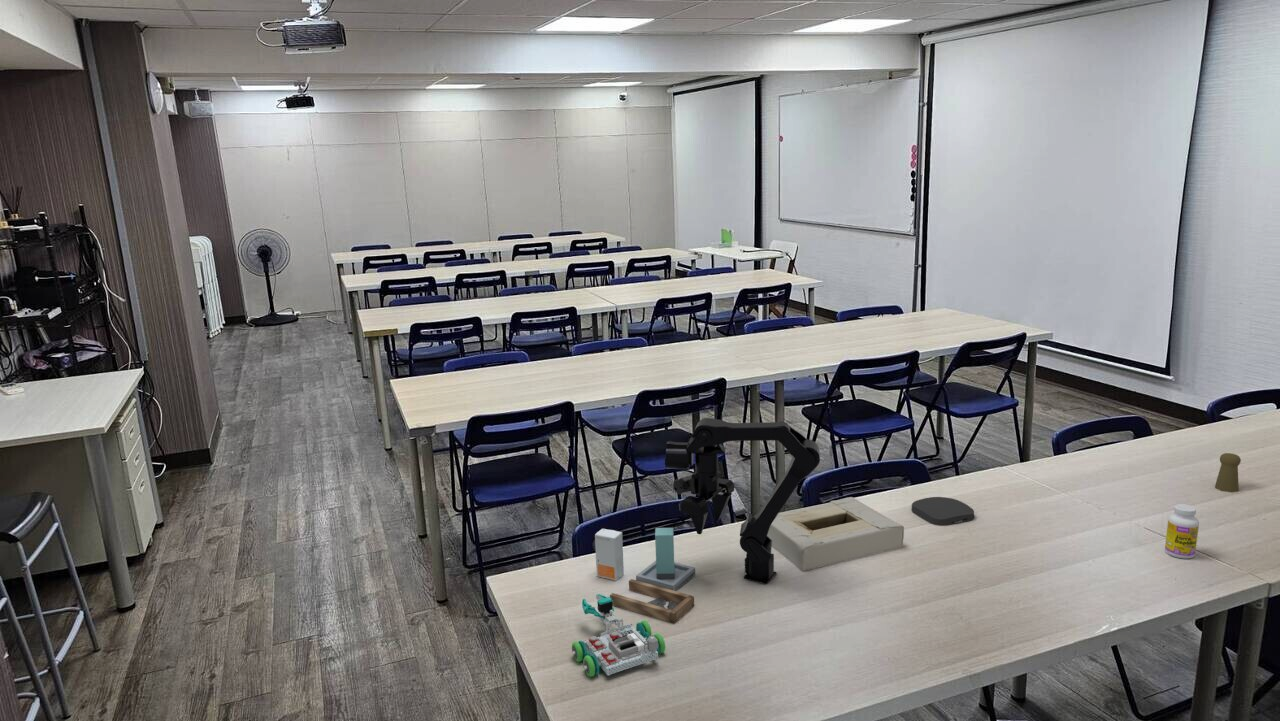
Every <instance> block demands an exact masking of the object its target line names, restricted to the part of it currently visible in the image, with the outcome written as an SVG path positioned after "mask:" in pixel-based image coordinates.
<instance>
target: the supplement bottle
mask: <svg viewBox="0 0 1280 721" xmlns="http://www.w3.org/2000/svg"><path fill="white" fill-rule="evenodd" d="M1173 511H1174V513H1171V514H1169V516H1168V518H1167V525H1166V526H1167V527H1166V534H1165V543H1164V544H1165V545H1164V551H1165V552H1166V554H1168V555H1169V556H1171V557H1174V558H1177V559H1183V560H1184V559H1188V560H1189V559H1193V558H1194V557H1195V556H1196V550H1197V543H1198V542H1197V541H1198V536H1199V535H1198V534H1199V527H1200V522H1199V519H1198V518H1197V517H1196V514H1197V513H1196V512H1197V509H1196V508H1195V506H1193V505H1188V504H1184V503H1179V504H1175V505H1174V506H1173Z"/></svg>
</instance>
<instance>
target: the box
mask: <svg viewBox="0 0 1280 721" xmlns="http://www.w3.org/2000/svg"><path fill="white" fill-rule="evenodd" d="M904 526H905V525H902V524H901V523H898V522H897V521H894V520H893V519H891V518H889V517H887V516H886V515H884V514H882V513H880V512H878V511H877V510H875V509H873V508H871V507H870V506H868V505H866V504H865V503H864V502H861V501H860V500H858V499H857V498H855V497H853V496H849V497H848V496H847V497H844V498H840V499H837V500H830V501H829V502H826V503H822V504H821V503H820V504H817V505H812V506H811V505H810V506H807V507H801V508H796V509H791V510H786V511H780V512H779V513H778V515H777V516H776V518H775V519H774V521H773V522H772V524H771V526H770V528H769V531H768V534H767V536H768V537H769V538H770V539H771V540H772V548H773V549H774V550H776V552H778V553H779V554H780V555H782V557H784V558H786V559H787V560H788V561H789V562H791V563H792V564H793V565H794V566H795V567H797V568H798V569H799V570H801V571H802V572H805V571H808V570H813V569H817V568H821V567H826V566H829V565H834V564H838V563H839V564H840V563H841V562H847V561H851V560H856V559H859V558H863V557H868V556H872V555H875V554H881V553H884V552H889V551H893V550H894V551H895V550H897V549H901V548H902V549H903V546H904V536H905V527H904Z"/></svg>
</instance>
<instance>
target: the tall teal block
mask: <svg viewBox="0 0 1280 721" xmlns="http://www.w3.org/2000/svg"><path fill="white" fill-rule="evenodd" d="M654 531H655V532H654V533H655V534H654V537H655V538H654V543H655V561H656V577H657V579H658V580H663V579H675V565H674V562H675V545H674V544H675V543H674V542H675V541H674V540H675V539H674V527H655V530H654Z"/></svg>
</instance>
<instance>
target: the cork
mask: <svg viewBox="0 0 1280 721" xmlns="http://www.w3.org/2000/svg"><path fill="white" fill-rule="evenodd" d="M1219 461H1220V462H1219V463H1220V467H1219V471H1218V475H1217V478H1216V482H1215V485H1214V488H1215V489H1217V490H1219V491H1221V492H1226V493H1237V492H1239V491H1240V489H1239V488H1240V487H1239V485H1240V484H1239V469H1238V468H1239V465H1240V464H1241V457H1240V456H1239V455H1238V454H1236V453H1230V452H1226V453H1225V452H1224V453H1222V454H1221V455H1220V456H1219Z"/></svg>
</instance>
